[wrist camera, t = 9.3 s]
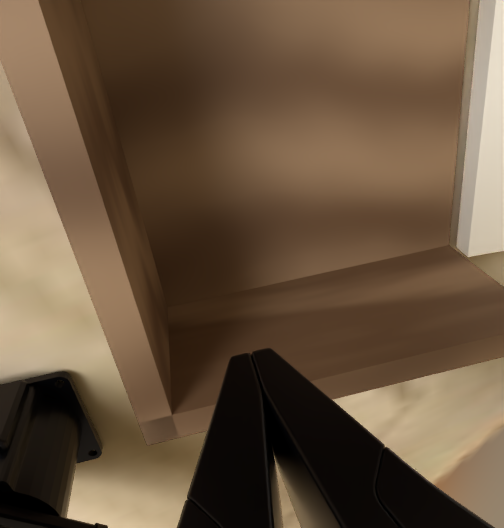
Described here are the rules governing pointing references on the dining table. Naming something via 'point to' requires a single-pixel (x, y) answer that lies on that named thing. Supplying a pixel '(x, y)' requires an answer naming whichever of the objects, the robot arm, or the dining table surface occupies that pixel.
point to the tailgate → (485, 140)
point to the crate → (257, 187)
